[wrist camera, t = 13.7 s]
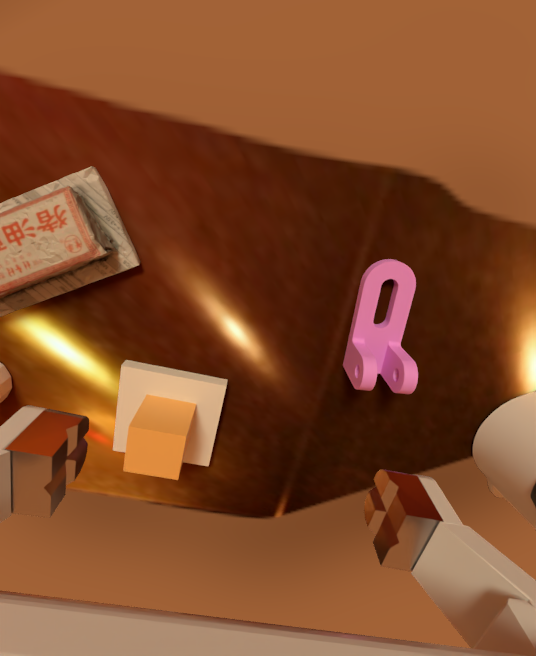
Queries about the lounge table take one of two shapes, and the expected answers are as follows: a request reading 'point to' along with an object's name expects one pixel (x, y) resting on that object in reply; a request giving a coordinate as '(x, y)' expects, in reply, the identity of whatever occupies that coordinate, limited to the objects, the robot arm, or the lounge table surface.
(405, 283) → the bracket
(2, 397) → the white cup
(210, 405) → the pin plate
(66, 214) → the packaged product
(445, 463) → the lounge table surface
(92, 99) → the lounge table surface
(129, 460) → the solid orange cube
